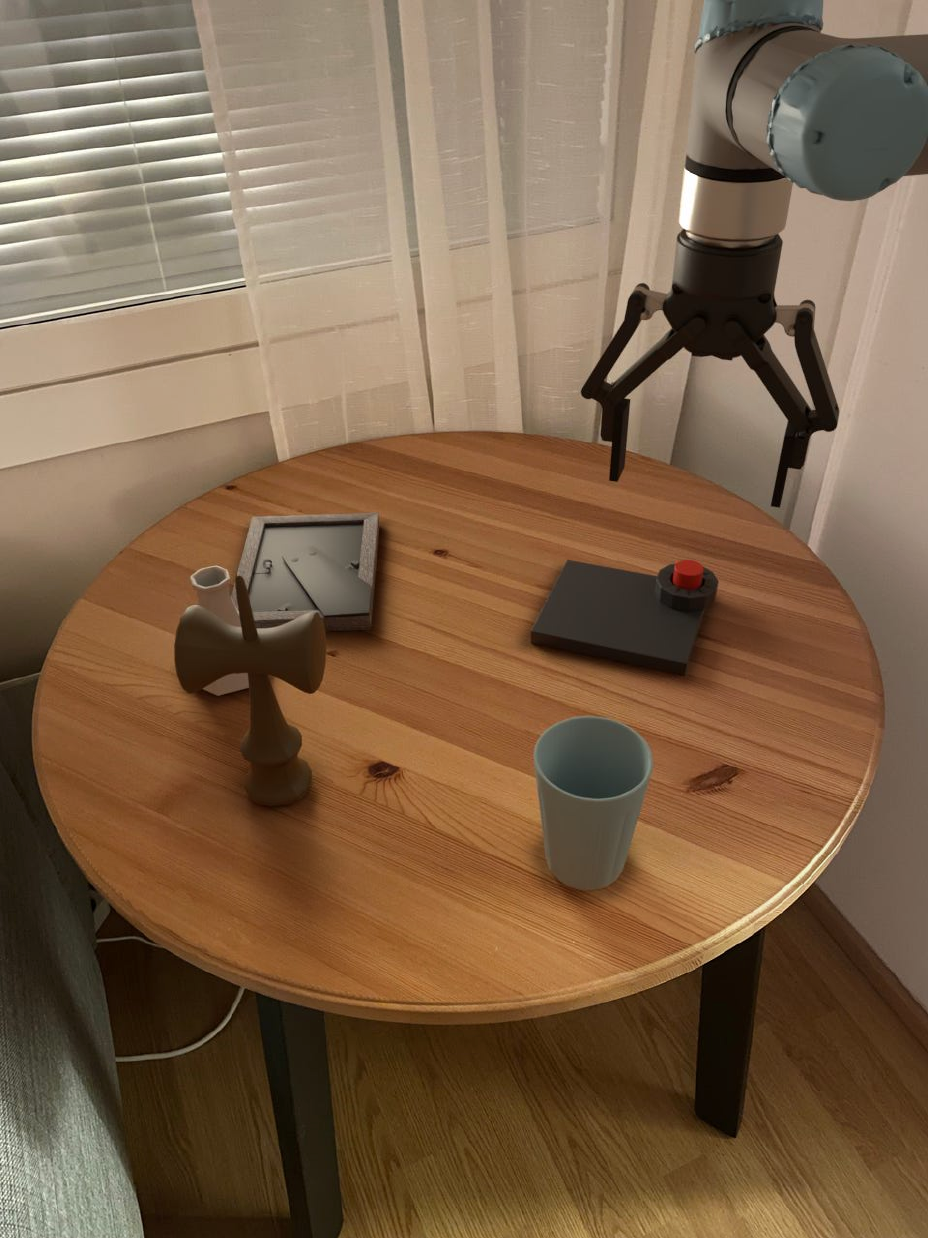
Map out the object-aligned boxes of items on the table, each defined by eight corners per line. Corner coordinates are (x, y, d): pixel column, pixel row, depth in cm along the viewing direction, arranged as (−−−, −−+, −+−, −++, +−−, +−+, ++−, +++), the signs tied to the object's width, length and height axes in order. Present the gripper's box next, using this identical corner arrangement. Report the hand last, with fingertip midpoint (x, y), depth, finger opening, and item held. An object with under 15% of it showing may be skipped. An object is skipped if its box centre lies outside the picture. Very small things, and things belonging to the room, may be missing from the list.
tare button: (703, 577, 94) (705, 562, 92) (698, 593, 92) (700, 577, 91) (675, 572, 94) (677, 557, 93) (670, 588, 92) (672, 572, 91)
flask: (174, 666, 89) (149, 574, 83) (245, 633, 93) (227, 542, 87) (213, 708, 85) (191, 614, 79) (287, 671, 88) (270, 578, 82)
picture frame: (371, 629, 93) (379, 524, 107) (369, 612, 92) (378, 508, 106) (227, 634, 93) (254, 529, 107) (223, 617, 91) (251, 513, 106)
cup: (542, 809, 75) (546, 706, 69) (645, 828, 73) (659, 725, 67) (520, 891, 69) (522, 787, 63) (631, 913, 68) (645, 810, 61)
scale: (718, 594, 96) (722, 568, 94) (693, 678, 86) (698, 651, 85) (568, 566, 100) (569, 541, 98) (530, 643, 91) (530, 616, 89)
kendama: (228, 756, 80) (179, 548, 68) (347, 760, 80) (319, 551, 67) (208, 814, 75) (151, 601, 63) (334, 819, 75) (302, 604, 63)
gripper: (915, 230, 72) (851, 487, 85) (576, 202, 79) (565, 444, 92) (914, 264, 66) (845, 534, 79) (549, 231, 73) (542, 484, 86)
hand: (695, 486), depth 86 cm, fingers open, 13 cm apart
